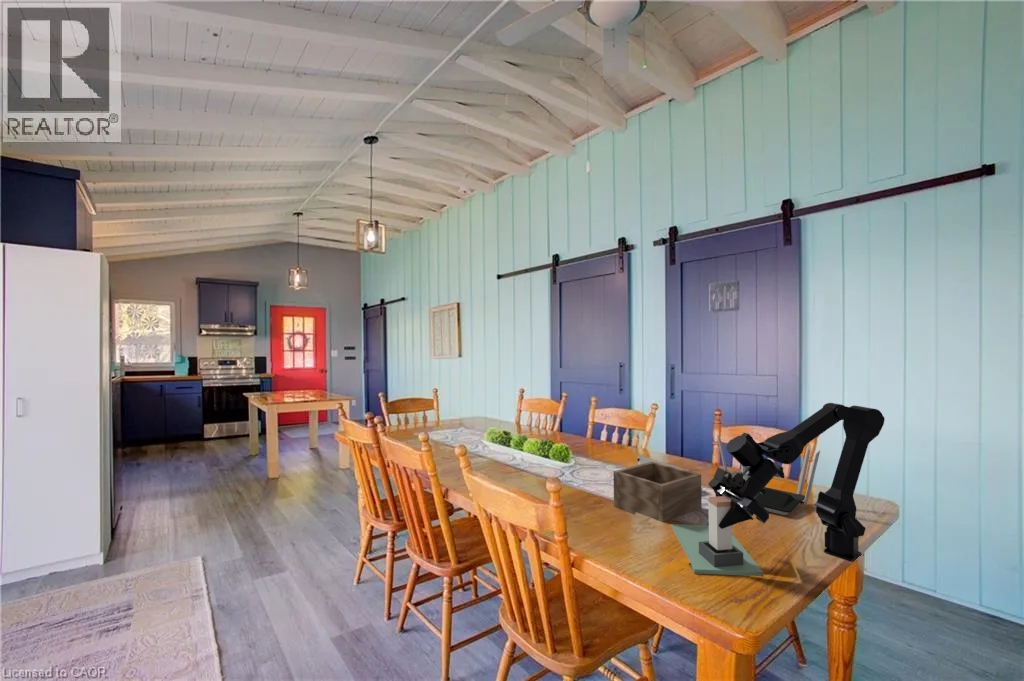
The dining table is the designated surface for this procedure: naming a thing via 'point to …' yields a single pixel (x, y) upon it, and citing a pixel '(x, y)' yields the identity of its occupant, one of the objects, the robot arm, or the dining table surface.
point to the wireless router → (781, 499)
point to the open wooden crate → (657, 491)
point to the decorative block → (646, 460)
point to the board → (690, 543)
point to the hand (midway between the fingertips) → (715, 524)
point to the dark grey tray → (720, 555)
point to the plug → (717, 511)
